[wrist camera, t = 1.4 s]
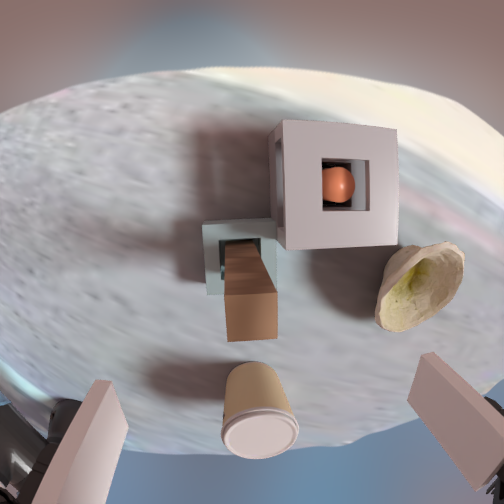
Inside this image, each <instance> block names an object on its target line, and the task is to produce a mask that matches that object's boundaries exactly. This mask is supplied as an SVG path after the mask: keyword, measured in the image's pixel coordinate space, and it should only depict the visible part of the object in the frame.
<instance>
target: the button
mask: <svg viewBox="0 0 504 504" xmlns="http://www.w3.org/2000/svg"><path fill="white" fill-rule="evenodd" d="M354 190H355V180H354V177H353V176H352V174H351V173H350V172H349V171H348V170H347V169H345V168H342V167H334V168H327V169H322V200H326V201H332V202H345V201H347V200H348V199H350V198H351V196H352V195H353V193H354Z"/></svg>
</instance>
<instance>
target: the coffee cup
mask: <svg viewBox="0 0 504 504" xmlns="http://www.w3.org/2000/svg"><path fill="white" fill-rule="evenodd" d="M298 432H299V427H298V423H297V421H296V419H295V417H294V415H293V413H292V410H291V408H290V405H289V403H288V400H287V398H286V395H285V393H284V390H283V388H282V385H281V383H280V380H279V378H278V376H277V374H276V372H275V371H274V369H273V368H271V367H270V366H269V365H267V364H264V363H261V362H247V363H243V364H241V365H239V366H237V367H235V368H234V369H233V370H232V371H231V372H230V374H229V376H228V378H227V383H226V392H225V402H224V414H223V427H222V430H221V438H222V441H223V443H224V445H225V446H226V447H227V448H228V450H230V451H231V452H232V453H234V454H236V455H238V456H240V457H244V458H249V459H263V458H269V457H273V456H276V455H278V454H281V453H282V452H284V451H286V450H287V449H289V448H290V447H291V446H292V445H293V444H294V442H295V440H296V438H297V435H298Z"/></svg>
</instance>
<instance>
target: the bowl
mask: <svg viewBox="0 0 504 504" xmlns="http://www.w3.org/2000/svg"><path fill="white" fill-rule="evenodd" d="M464 261H465V253H464V252H463V251H462V252H461V251H460V250H459V249H458V247H457V246H456V245H455V244H452V243H450V242H446V241H445V242H444V243H441V244H434V245H432V246H426V247H423V248H421V247H419V246H415V245H411V246H407V247H404V248H401V249H400V250H398V251H397V252H396V253H395V254H393V256H392V257H391V258H390V259H389V261H388V263H387V264H386V266H385V268H384V272H383V281H382V285H381V288H380V290H379V294H378V298H377V304H376V309H375V318H374V319H375V321H376V323H377V324H378V325H379V326H380V327H381V328H383V329H386V330H388V331H392V332H403V331H404V330H408V329H410V328H412V327H415V326H417V325H418V324H420V323H421V322H423V321H425V320H427V319H429V318H431V317H432V316H434V315H435V314H436V313H437V312H439V311H440V310H441V309H442V308H443V307H445V306H446V305H447V304H448V303H449V302H450V301H451V300H452V299H453V297H454V296H455V294H456V291H457V290H458V287H459V285H460V284H461V281H462V278H463V272H464Z"/></svg>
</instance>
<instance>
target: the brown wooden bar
mask: <svg viewBox="0 0 504 504" xmlns="http://www.w3.org/2000/svg"><path fill="white" fill-rule="evenodd" d="M224 300H225V314H226V327H227V340H228V342H235V341H251V340H265V339H277V332H278V304H277V290H276V288H275V286H274V284H273V282H272V280H271V278H270V276H269V274H268V271H267V269H266V267H265V265H264V263H263V261H262V259H261V257H260V255H259V253H258V250H257V248H256V246H255V244H254V242H253V240H231V241H225V279H224Z"/></svg>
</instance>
